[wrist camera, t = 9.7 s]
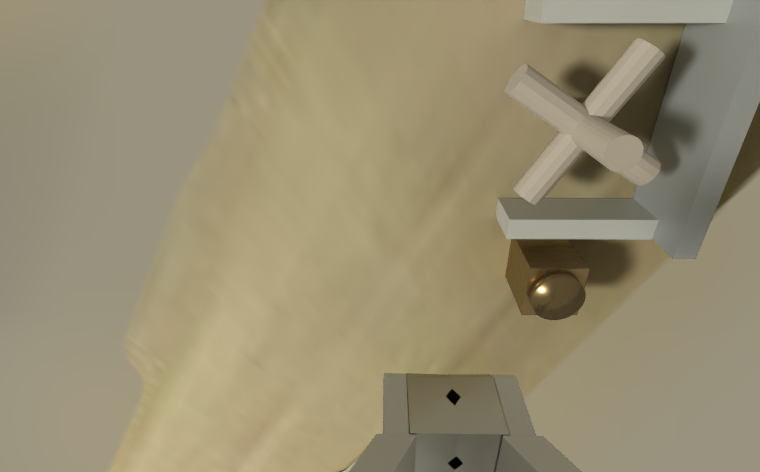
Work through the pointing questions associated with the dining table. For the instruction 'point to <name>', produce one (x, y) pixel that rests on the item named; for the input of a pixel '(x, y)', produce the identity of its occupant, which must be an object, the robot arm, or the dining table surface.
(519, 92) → the beige crossed rod piece
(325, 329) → the dining table surface
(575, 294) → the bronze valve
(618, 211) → the socket cradle
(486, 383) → the robot arm
